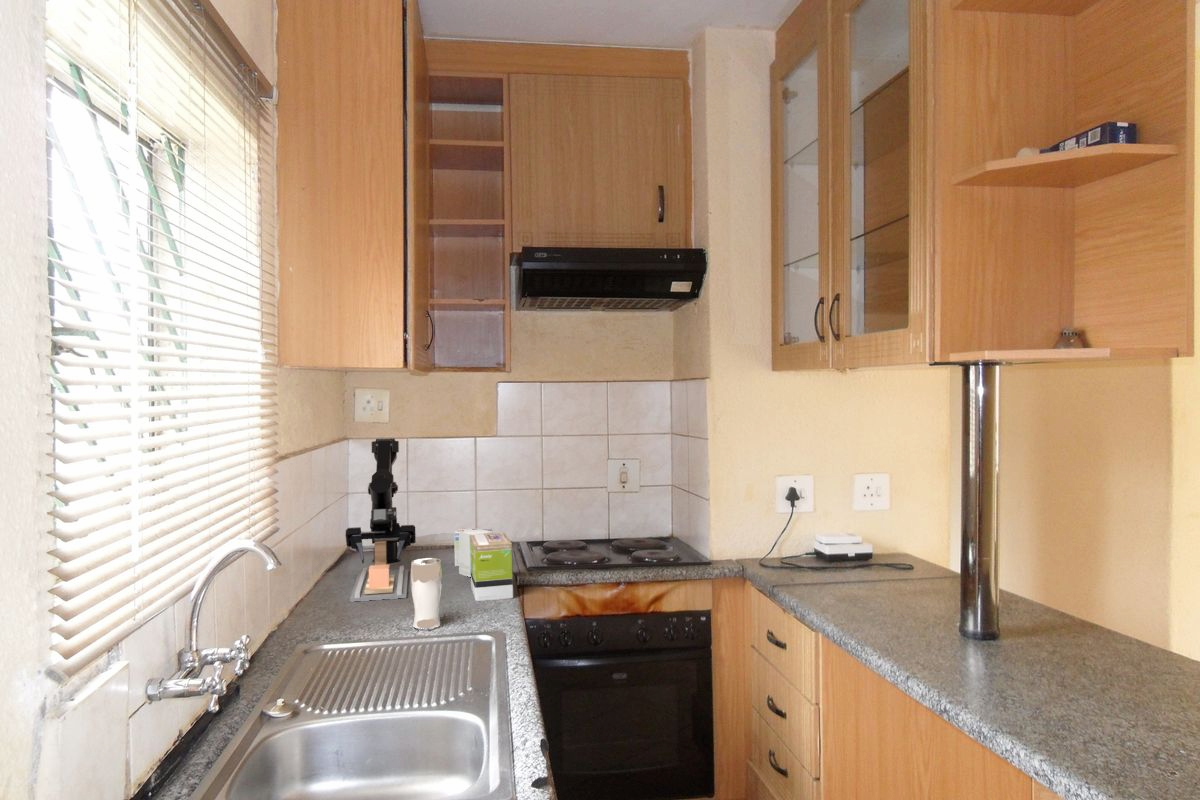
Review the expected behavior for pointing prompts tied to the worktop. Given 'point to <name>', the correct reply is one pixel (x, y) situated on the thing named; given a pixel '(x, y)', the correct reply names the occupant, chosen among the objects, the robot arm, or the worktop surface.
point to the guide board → (398, 592)
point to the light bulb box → (456, 544)
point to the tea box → (491, 567)
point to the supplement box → (467, 549)
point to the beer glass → (426, 591)
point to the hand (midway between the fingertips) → (380, 561)
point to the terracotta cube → (379, 576)
